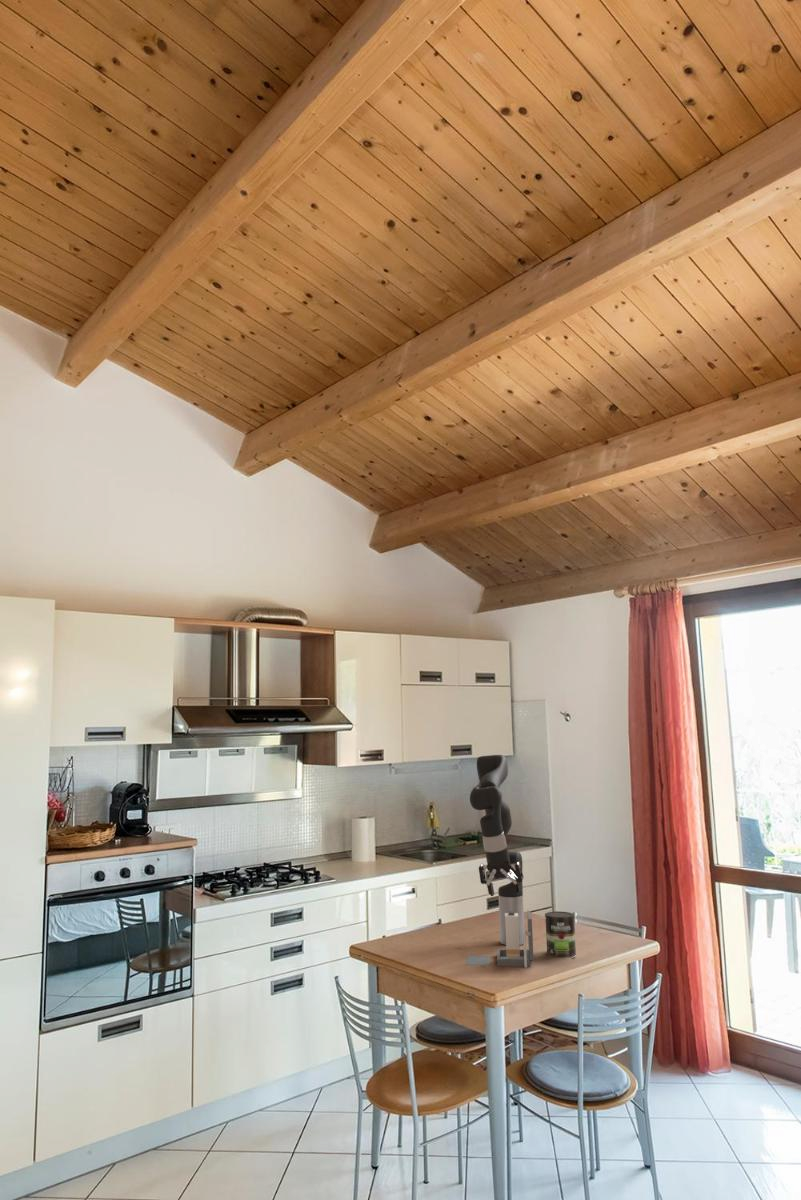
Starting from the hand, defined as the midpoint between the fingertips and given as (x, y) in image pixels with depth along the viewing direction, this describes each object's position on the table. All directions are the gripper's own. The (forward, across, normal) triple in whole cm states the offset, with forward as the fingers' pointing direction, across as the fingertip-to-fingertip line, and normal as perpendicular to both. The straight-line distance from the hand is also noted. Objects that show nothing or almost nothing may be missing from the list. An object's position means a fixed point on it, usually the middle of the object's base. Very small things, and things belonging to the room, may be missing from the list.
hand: (504, 894), depth 270 cm
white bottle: (+26, +4, -8) cm, 28 cm away
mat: (+26, +16, -5) cm, 31 cm away
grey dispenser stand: (+28, +4, -8) cm, 29 cm away
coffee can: (+32, -9, -22) cm, 40 cm away
